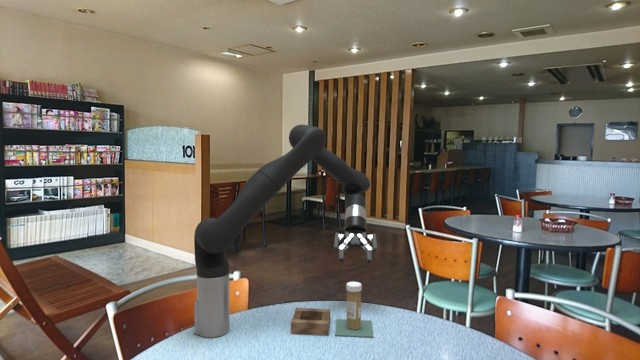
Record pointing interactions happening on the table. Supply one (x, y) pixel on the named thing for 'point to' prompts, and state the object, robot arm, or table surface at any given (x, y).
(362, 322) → the rubber mat
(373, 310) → the table surface
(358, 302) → the sprinkles bottle
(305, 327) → the keeper collar
